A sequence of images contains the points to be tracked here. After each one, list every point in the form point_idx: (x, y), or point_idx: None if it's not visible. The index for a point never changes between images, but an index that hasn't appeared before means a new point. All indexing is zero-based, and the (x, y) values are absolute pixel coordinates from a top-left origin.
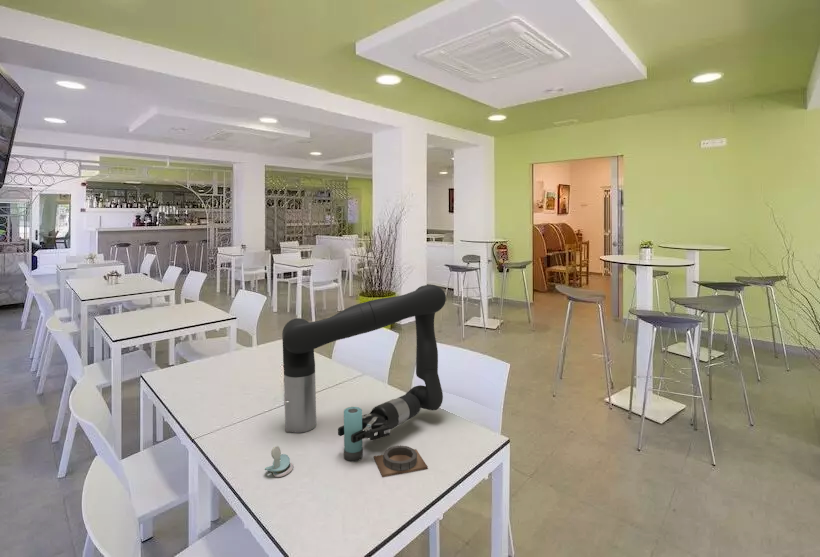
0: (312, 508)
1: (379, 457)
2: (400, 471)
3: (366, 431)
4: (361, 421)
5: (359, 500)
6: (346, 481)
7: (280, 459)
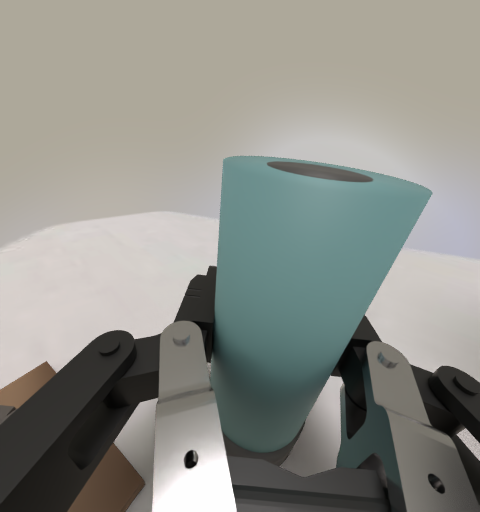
0: (183, 240)
1: (96, 496)
2: None
3: (167, 332)
4: (222, 271)
5: (104, 272)
6: (172, 298)
7: None
